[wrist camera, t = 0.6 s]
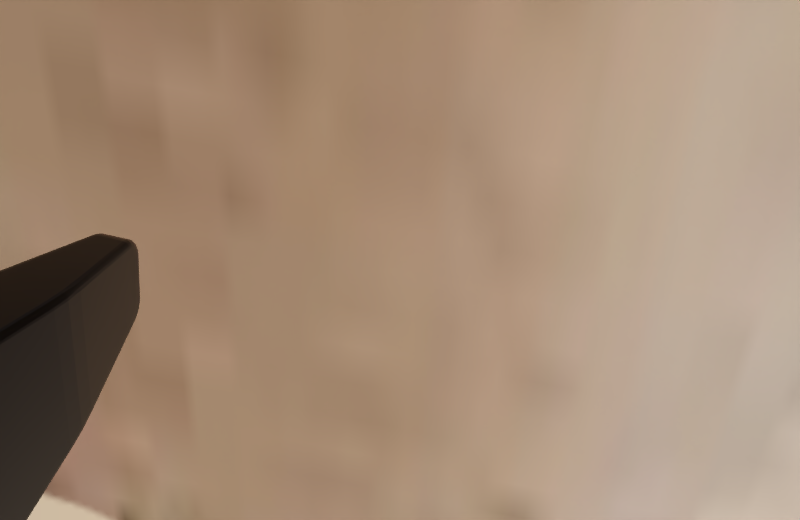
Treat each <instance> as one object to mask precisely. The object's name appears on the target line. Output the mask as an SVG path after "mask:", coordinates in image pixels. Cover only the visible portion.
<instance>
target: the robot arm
mask: <svg viewBox="0 0 800 520" xmlns="http://www.w3.org/2000/svg"><path fill="white" fill-rule="evenodd" d="M139 303H140V287H139V261H138V250H137V247H136V244H135V243H134V242H133V241H131V240H129V239H124V238H120V237H115V236H111V235H106V234H95V235H92V236H89V237H87V238H84V239H82V240H79V241H76V242H74V243H71V244H69V245H66V246H63V247H61V248H58V249H56V250H53V251H50V252H48V253H45V254H43V255H40V256H37V257H35V258H32V259H29V260H27V261H24V262H22V263H19V264H16V265H14V266H11V267H9V268H6V269H3V270H1V271H0V520H27V519H28V517H29V515H30V513H31V512H32V511H33V509H34V507H35V505H36V504H37V503H38V501H39V499H40V498H41V496H42V495H43V493H44V491H45V490H46V488H47V487H48V485H49V483H50V482H51V480H52V479H53V477H54V475H55V474H56V472H57V471H58V469H59V467H60V466H61V464H62V463H63V461H64V459H65V458H66V456H67V455H68V453H69V451H70V450H71V448H72V447H73V445H74V443H75V441H76V440H77V438H78V436H79V435H80V433H81V431H82V430H83V428H84V426H85V424H86V422H87V420H88V418H89V416H90V414H91V412H92V410H93V408H94V405H95V403H96V401H97V399H98V397H99V395H100V393H101V391H102V389H103V386H104V384H105V382H106V380H107V378H108V376H109V374H110V372H111V370H112V367H113V365H114V363H115V361H116V359H117V357H118V355H119V353H120V351H121V348H122V346H123V344H124V342H125V340H126V338H127V336H128V334H129V332H130V329H131V327H132V325H133V323H134V321H135V319H136V316H137V313H138V309H139Z"/></svg>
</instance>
